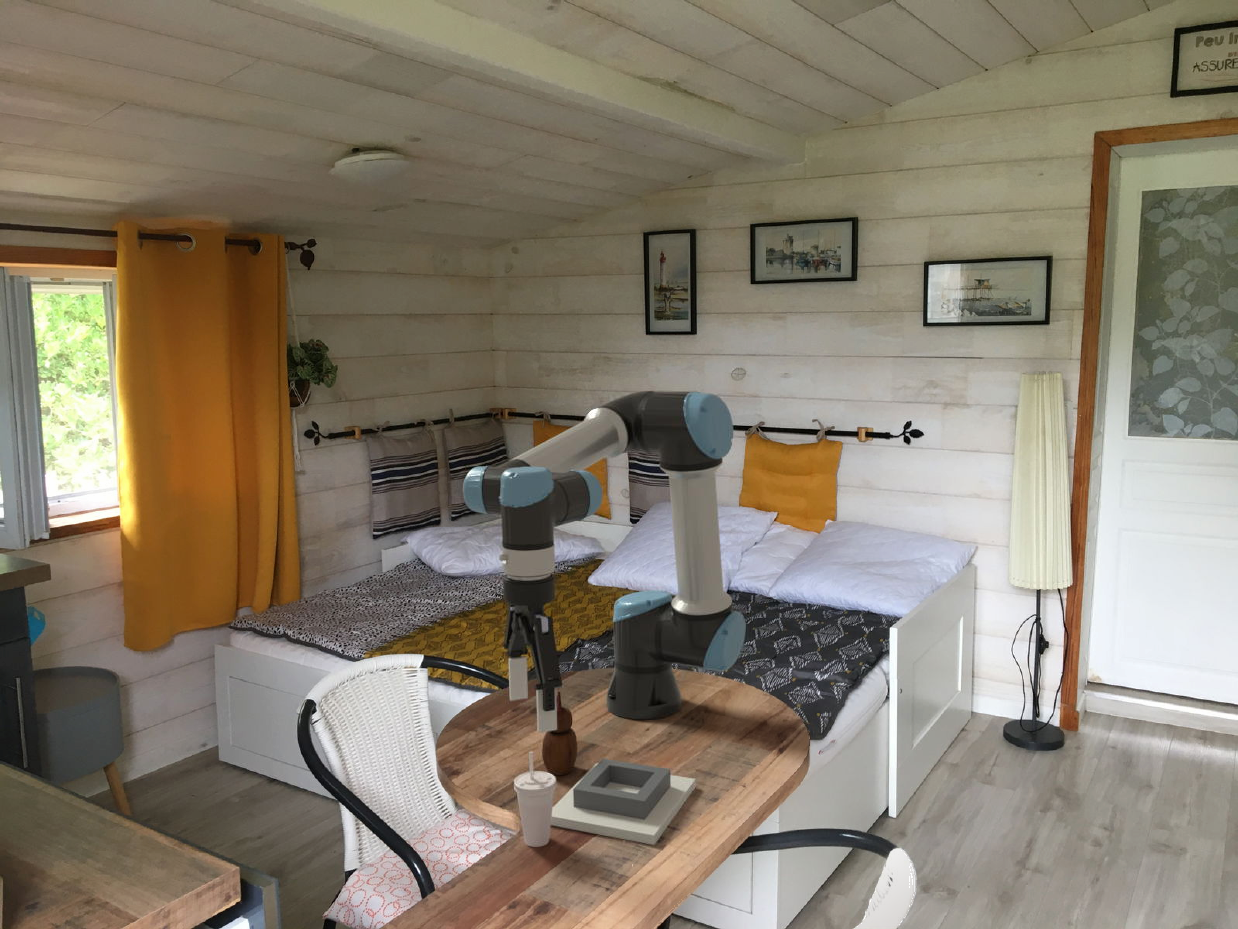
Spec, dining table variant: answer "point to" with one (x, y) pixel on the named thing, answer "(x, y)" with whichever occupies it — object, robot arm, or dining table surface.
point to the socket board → (622, 822)
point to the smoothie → (535, 804)
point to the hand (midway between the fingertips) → (532, 714)
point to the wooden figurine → (560, 743)
